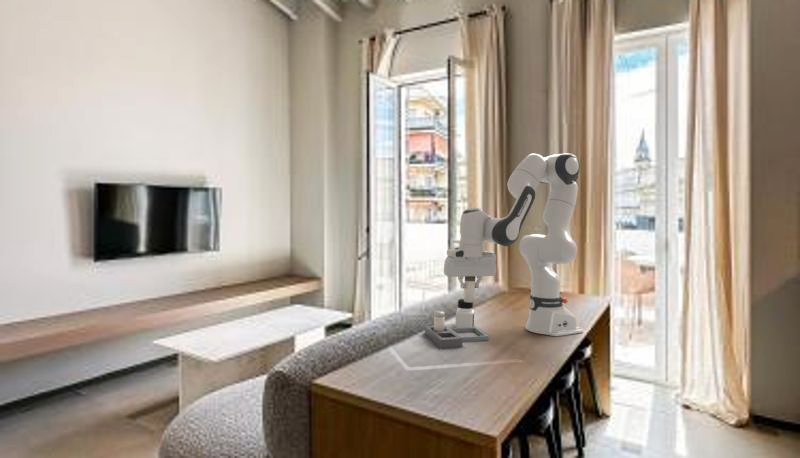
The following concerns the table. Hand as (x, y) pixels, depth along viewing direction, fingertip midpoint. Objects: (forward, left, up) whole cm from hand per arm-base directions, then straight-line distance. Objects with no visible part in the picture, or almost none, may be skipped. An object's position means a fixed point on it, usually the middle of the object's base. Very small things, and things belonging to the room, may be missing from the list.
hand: (469, 288), depth 184 cm
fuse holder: (+11, +3, -20) cm, 23 cm away
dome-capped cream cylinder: (+11, -1, -19) cm, 22 cm away
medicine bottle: (-5, -14, -20) cm, 25 cm away
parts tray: (0, 0, -20) cm, 20 cm away
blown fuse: (0, 0, -5) cm, 5 cm away
